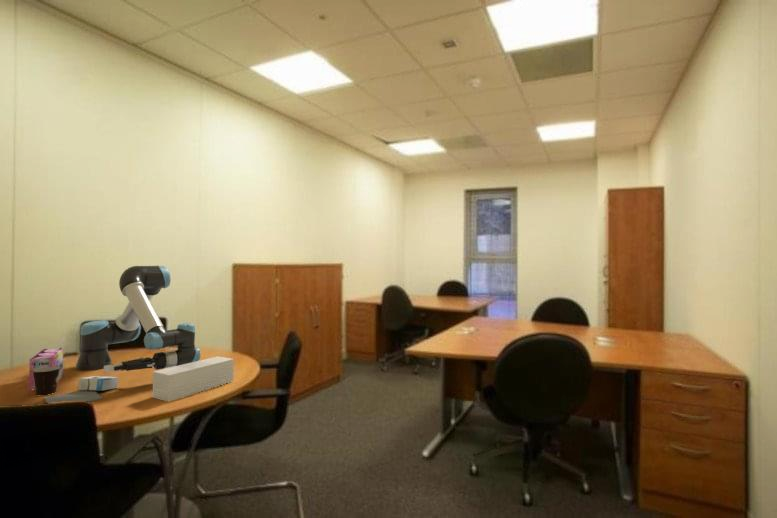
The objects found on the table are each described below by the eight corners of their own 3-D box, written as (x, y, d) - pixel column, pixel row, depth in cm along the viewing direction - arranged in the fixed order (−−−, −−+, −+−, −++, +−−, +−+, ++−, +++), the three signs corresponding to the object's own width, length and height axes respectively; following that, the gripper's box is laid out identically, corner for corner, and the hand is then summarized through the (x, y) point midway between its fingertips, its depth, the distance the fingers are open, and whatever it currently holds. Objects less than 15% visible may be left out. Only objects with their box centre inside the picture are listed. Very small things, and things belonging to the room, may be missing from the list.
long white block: (168, 402, 167) (169, 375, 167) (152, 397, 172) (152, 371, 172) (233, 382, 195) (233, 358, 195) (217, 378, 200) (218, 356, 200)
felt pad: (44, 399, 168) (44, 397, 168) (92, 390, 179) (92, 389, 179) (52, 409, 157) (52, 407, 157) (102, 399, 169) (102, 397, 169)
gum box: (43, 377, 200) (43, 348, 200) (64, 375, 203) (64, 346, 203) (28, 391, 178) (28, 359, 178) (51, 388, 182) (52, 357, 182)
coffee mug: (42, 390, 179) (43, 366, 179) (64, 389, 180) (64, 366, 180) (21, 399, 168) (21, 374, 168) (44, 398, 168) (44, 373, 168)
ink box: (103, 379, 176) (78, 377, 178) (101, 391, 175) (76, 390, 177) (118, 376, 184) (94, 375, 186) (117, 388, 184) (93, 386, 185)
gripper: (169, 370, 189) (108, 381, 171) (159, 365, 198) (99, 375, 180) (169, 354, 189) (108, 363, 172) (159, 349, 198) (99, 357, 180)
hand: (104, 369), depth 176 cm, fingers closed
